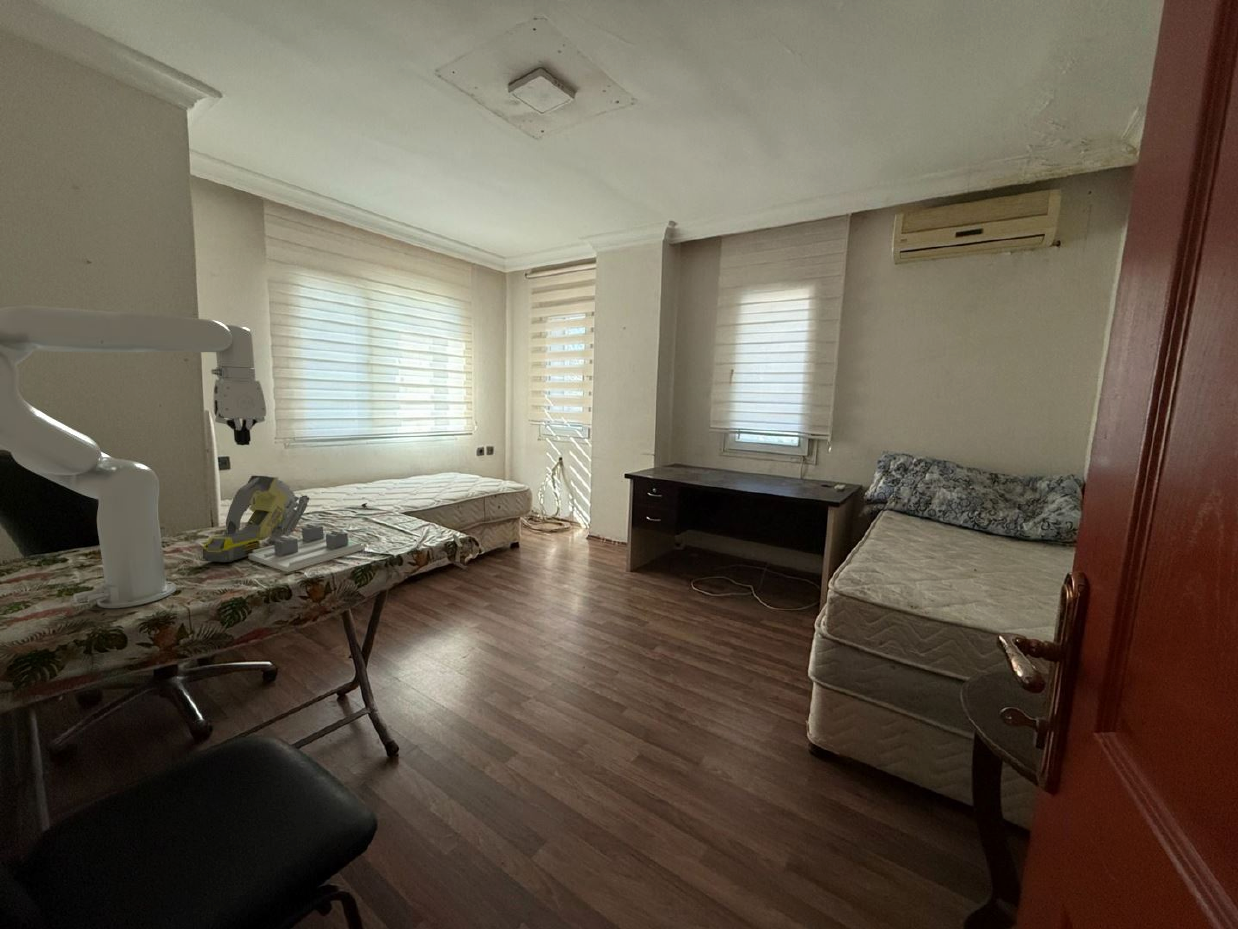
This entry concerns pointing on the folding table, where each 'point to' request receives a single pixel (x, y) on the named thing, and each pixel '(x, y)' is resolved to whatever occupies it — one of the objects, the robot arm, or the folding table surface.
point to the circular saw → (256, 518)
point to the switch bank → (303, 554)
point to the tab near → (336, 539)
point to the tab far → (312, 533)
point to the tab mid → (285, 546)
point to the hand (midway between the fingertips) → (243, 444)
